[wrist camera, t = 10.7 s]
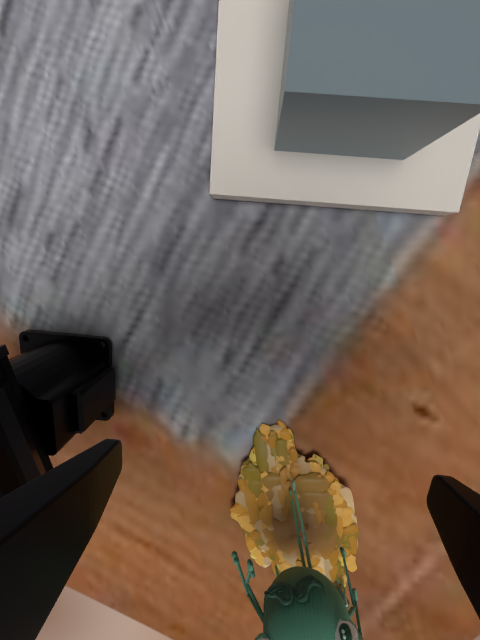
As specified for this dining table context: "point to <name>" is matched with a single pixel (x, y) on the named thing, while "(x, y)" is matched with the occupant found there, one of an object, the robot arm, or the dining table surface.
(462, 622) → the dining table surface
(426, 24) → the slate grey cube
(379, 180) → the base plate
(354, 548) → the green and yellow piece
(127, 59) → the dining table surface
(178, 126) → the dining table surface
